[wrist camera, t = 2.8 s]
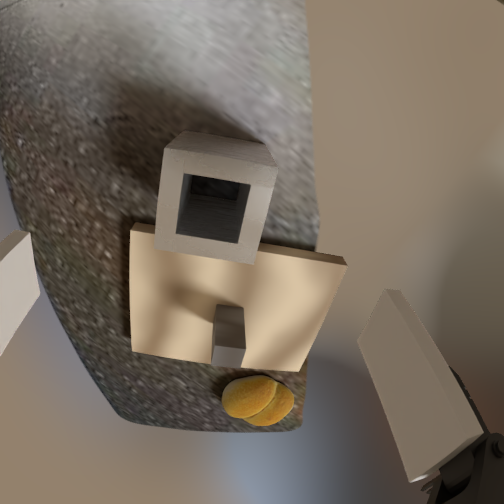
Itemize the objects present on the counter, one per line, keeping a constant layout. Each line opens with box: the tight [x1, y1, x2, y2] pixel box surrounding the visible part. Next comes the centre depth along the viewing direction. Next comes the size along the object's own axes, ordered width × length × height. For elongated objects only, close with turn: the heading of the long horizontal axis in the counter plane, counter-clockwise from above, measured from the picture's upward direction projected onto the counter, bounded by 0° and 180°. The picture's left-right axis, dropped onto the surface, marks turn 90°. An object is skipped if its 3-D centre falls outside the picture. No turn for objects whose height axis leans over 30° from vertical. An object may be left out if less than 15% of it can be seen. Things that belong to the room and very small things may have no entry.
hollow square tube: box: [154, 130, 279, 265], centre depth 20 cm, size 6×6×7 cm
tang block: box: [130, 222, 347, 372], centre depth 26 cm, size 18×14×6 cm
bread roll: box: [222, 375, 294, 426], centre depth 35 cm, size 8×9×4 cm
